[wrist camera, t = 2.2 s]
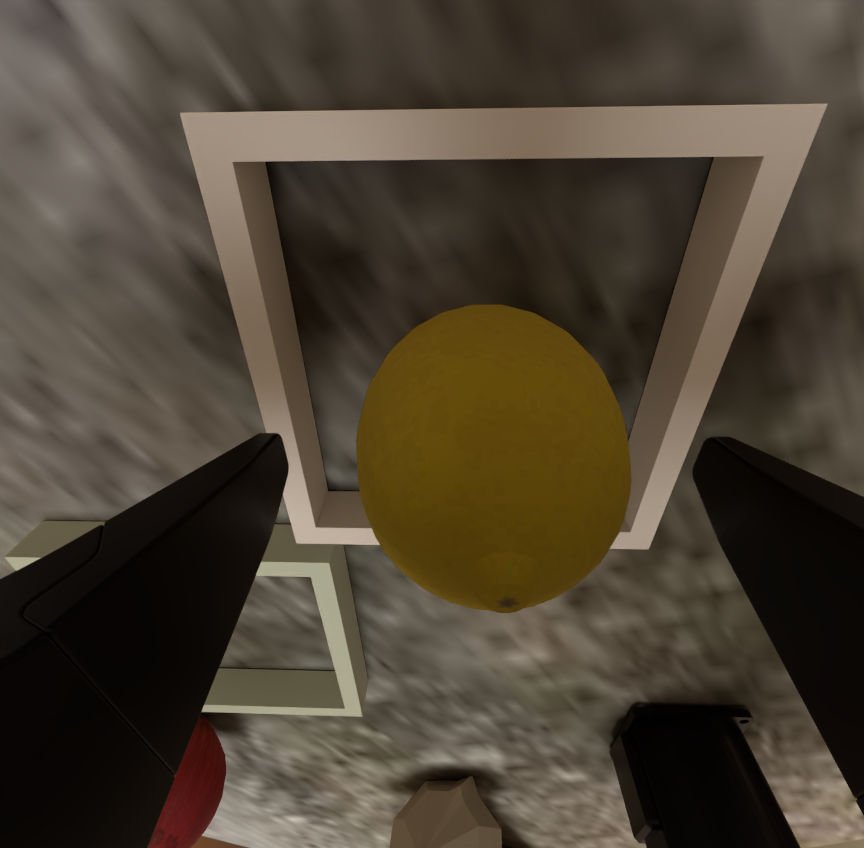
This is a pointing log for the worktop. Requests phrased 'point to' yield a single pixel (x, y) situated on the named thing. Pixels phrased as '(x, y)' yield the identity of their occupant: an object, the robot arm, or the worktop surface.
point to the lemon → (493, 458)
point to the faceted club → (446, 818)
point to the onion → (193, 791)
